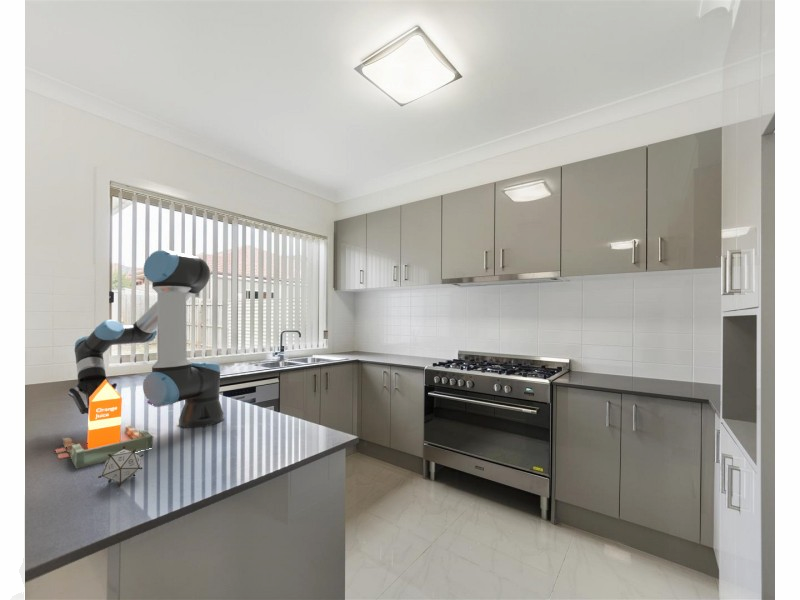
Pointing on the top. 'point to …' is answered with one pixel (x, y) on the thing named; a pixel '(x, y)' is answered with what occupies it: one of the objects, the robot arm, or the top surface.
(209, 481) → the top surface
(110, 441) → the orange juice
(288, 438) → the top surface
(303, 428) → the top surface
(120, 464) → the game die
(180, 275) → the robot arm
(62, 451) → the trap strips
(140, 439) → the tray
